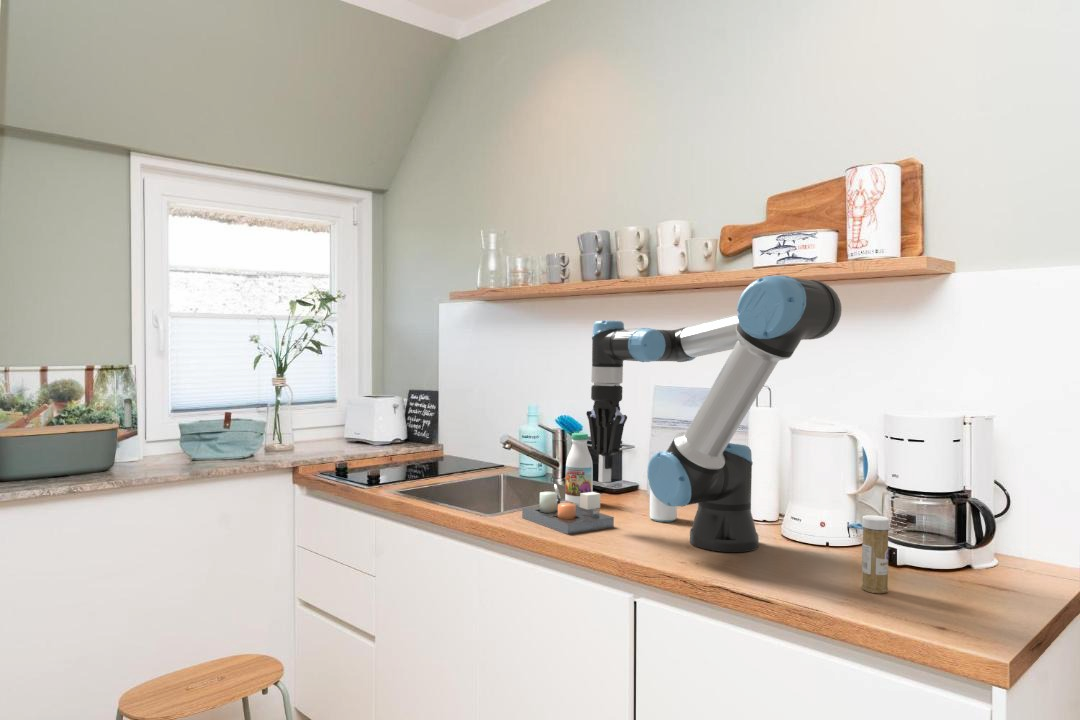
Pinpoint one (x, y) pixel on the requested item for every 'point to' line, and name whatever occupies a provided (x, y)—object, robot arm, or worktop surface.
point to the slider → (590, 500)
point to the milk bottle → (578, 469)
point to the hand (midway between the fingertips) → (604, 481)
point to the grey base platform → (582, 523)
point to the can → (661, 510)
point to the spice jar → (875, 553)
